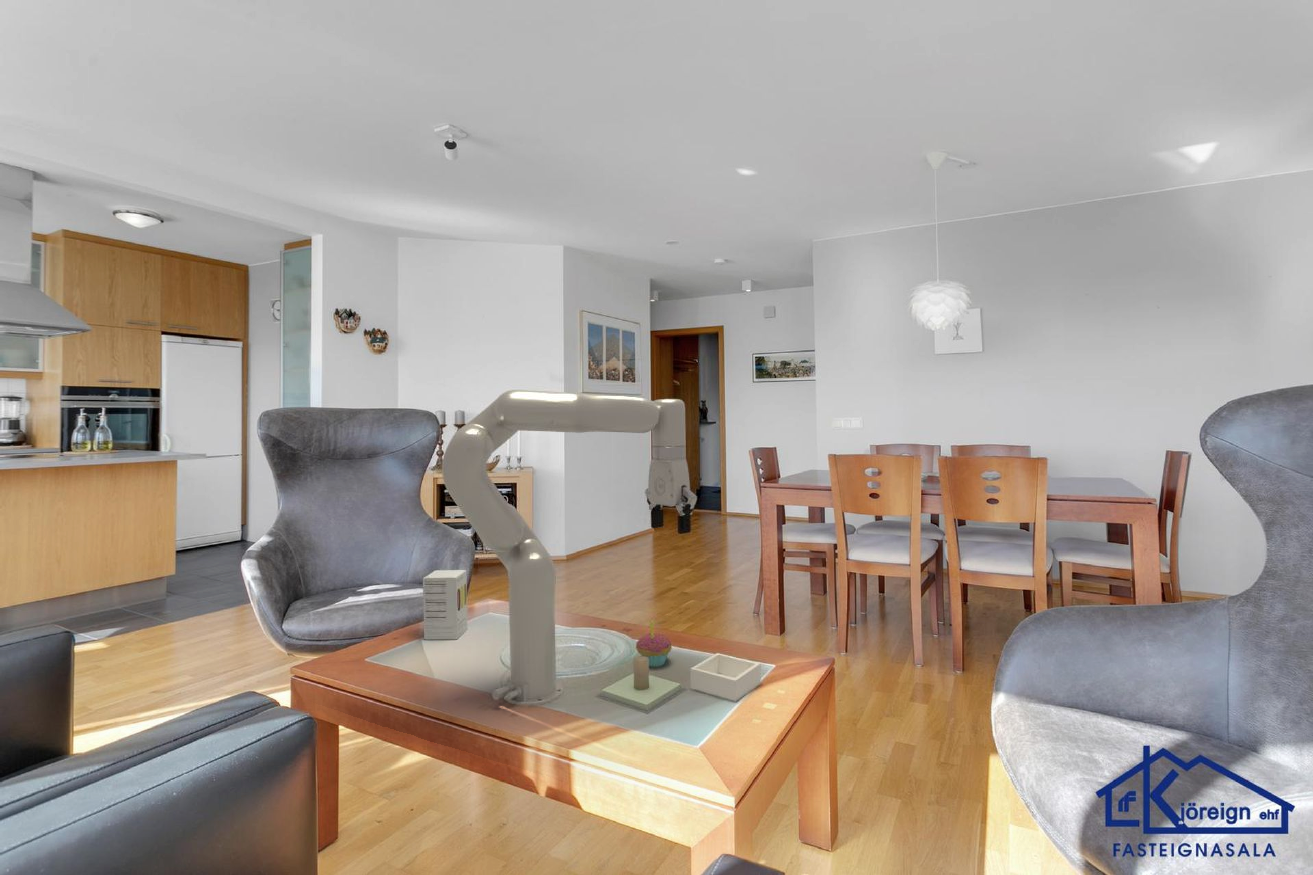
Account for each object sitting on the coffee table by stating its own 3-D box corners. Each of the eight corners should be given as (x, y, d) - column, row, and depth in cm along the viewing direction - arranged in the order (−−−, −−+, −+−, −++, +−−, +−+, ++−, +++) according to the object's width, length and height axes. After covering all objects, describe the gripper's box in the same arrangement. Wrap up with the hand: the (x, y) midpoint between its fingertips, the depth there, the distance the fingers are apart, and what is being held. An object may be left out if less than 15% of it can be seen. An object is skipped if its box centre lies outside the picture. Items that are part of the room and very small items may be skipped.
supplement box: (457, 640, 172) (456, 577, 172) (423, 640, 172) (421, 578, 172) (468, 628, 182) (467, 569, 181) (435, 628, 182) (434, 569, 181)
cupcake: (668, 672, 148) (667, 621, 148) (632, 670, 150) (631, 619, 150) (674, 659, 157) (673, 610, 156) (640, 656, 158) (639, 608, 158)
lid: (646, 710, 128) (646, 674, 128) (601, 695, 135) (600, 661, 135) (680, 689, 138) (680, 656, 138) (636, 676, 145) (636, 644, 145)
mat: (647, 716, 127) (647, 713, 127) (594, 698, 135) (594, 696, 135) (687, 691, 138) (687, 689, 138) (636, 676, 146) (636, 674, 146)
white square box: (735, 704, 132) (735, 680, 131) (690, 691, 138) (690, 668, 138) (760, 686, 140) (760, 663, 140) (717, 674, 147) (717, 652, 147)
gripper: (633, 453, 149) (634, 527, 149) (680, 456, 135) (682, 537, 136) (658, 452, 153) (660, 523, 154) (707, 454, 140) (708, 533, 140)
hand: (670, 530), depth 145 cm, fingers open, 9 cm apart
